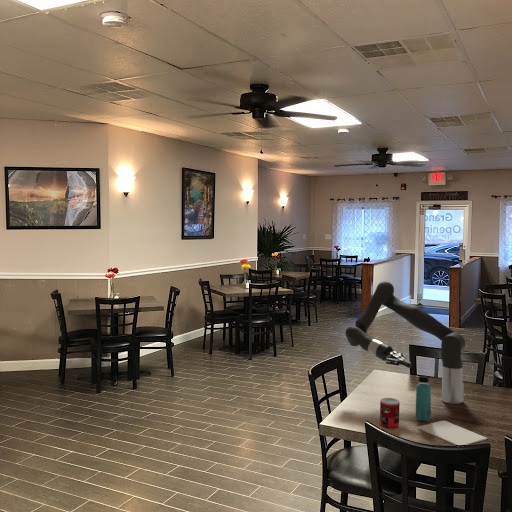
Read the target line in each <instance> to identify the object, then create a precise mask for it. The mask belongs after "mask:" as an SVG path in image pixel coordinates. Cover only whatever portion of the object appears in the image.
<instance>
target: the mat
mask: <svg viewBox="0 0 512 512" xmlns="http://www.w3.org/2000/svg"><path fill="white" fill-rule="evenodd" d="M416 428H417V429H419V430H421V431H423V432H426V433H427V434H430V435H432V436H434V437H436V438H439V439H441V440H443V441H445V442H447V443H450V444H452V445H454V446H456V445H466V446H468V445H473V444H476V443H479V442H483V441H485V440H488V437H486V436H484V435H481V434H478V433H476V432H474V431H471V430H469V429H467V428H464V427H461V426H459V425H457V424H454V423H452V422H449V421H447V420H439V421H435V422H431V423H428V424H423V425H419V426H417V427H416Z"/></svg>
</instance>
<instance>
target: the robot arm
mask: <svg viewBox="0 0 512 512" xmlns="http://www.w3.org/2000/svg"><path fill="white" fill-rule="evenodd" d="M394 293H395V288H394V285H393V283H391V282H390V281H386V280H385V281H381V282H379V283H378V284H377V286H376V288H375V291H374V293H373V295H372V296H371V298H370V300H369V301H368V303H367V305H365V308H364V309H363V311H361V313H360V314H359V316H358V317H357V319H356V320H355V326H354V325H351V326H348V327H347V328H346V329H345V337H346V339H347V342H348V343H349V345H350V346H352V347H359V346H360V347H361V348H362V349H363V350H364V351H365V352H368V353H370V354H371V355H372V356H374V357H376V358H378V359H380V360H381V361H383V362H385V364H386V365H393V366H396V367H398V366H403V367H406V368H407V369H410V368H412V367H413V363H412V362H411V361H409V360H407V356H406V354H405V352H404V351H401V352H398V351H395V350H394V348H393V347H392V346H391V345H389V344H387V343H385V342H383V341H381V340H379V339H375V338H374V337H372V336H371V335H368V334H367V332H368V330H369V328H370V326H371V325H372V323H373V322H374V321H375V319H376V317H377V315H378V313H379V310H380V309H381V307H382V306H384V307H386V308H387V309H389V310H392V311H393V312H394V313H396V314H397V315H398V316H400V317H401V318H403V319H404V320H406V321H407V322H408V323H410V324H411V325H412V326H414V327H415V328H416V329H419V330H421V331H423V332H425V333H428V334H429V335H432V336H435V338H437V339H439V340H440V341H441V347H440V350H441V351H440V352H441V354H440V355H441V362H442V368H441V369H442V371H441V372H442V373H441V375H442V376H441V401H442V402H443V403H446V404H451V405H459V404H461V403H463V402H464V397H465V396H464V395H465V394H464V393H465V392H464V390H465V389H464V388H465V387H464V386H465V382H464V381H463V371H464V370H463V369H464V368H463V367H464V366H463V363H464V362H463V361H462V350H463V349H465V347H466V339H465V338H464V336H462V335H461V334H460V333H459V332H456V330H454V329H451V328H449V327H448V326H446V325H445V324H443V323H442V322H440V321H439V320H437V318H435V317H434V316H432V315H431V314H429V313H428V312H427V311H425V310H424V309H423V308H421V307H419V306H418V305H415V304H412V303H408V302H407V303H406V302H404V301H402V300H401V299H399V298H397V297H396V296H395V295H394Z"/></svg>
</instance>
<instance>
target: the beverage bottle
mask: <svg viewBox="0 0 512 512" xmlns="http://www.w3.org/2000/svg"><path fill="white" fill-rule="evenodd" d="M418 382H419V383H417V384H416V386H415V389H416V390H415V410H414V411H415V418H416V419H417V420H419V421H430V420H431V416H432V415H431V414H432V406H431V405H432V404H431V403H432V401H431V400H432V387H431V385H430V384H429V382H430V381H429V376H427V375H419V376H418Z"/></svg>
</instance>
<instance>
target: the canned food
mask: <svg viewBox="0 0 512 512" xmlns="http://www.w3.org/2000/svg"><path fill="white" fill-rule="evenodd" d="M379 403H380V404H379V405H380V406H379V424H380V427H382V428H384V429H389V430H395V429H399V426H400V405H401V404H400V400H399V399H397V398H392V397H383V398H381V399H380V402H379Z"/></svg>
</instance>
